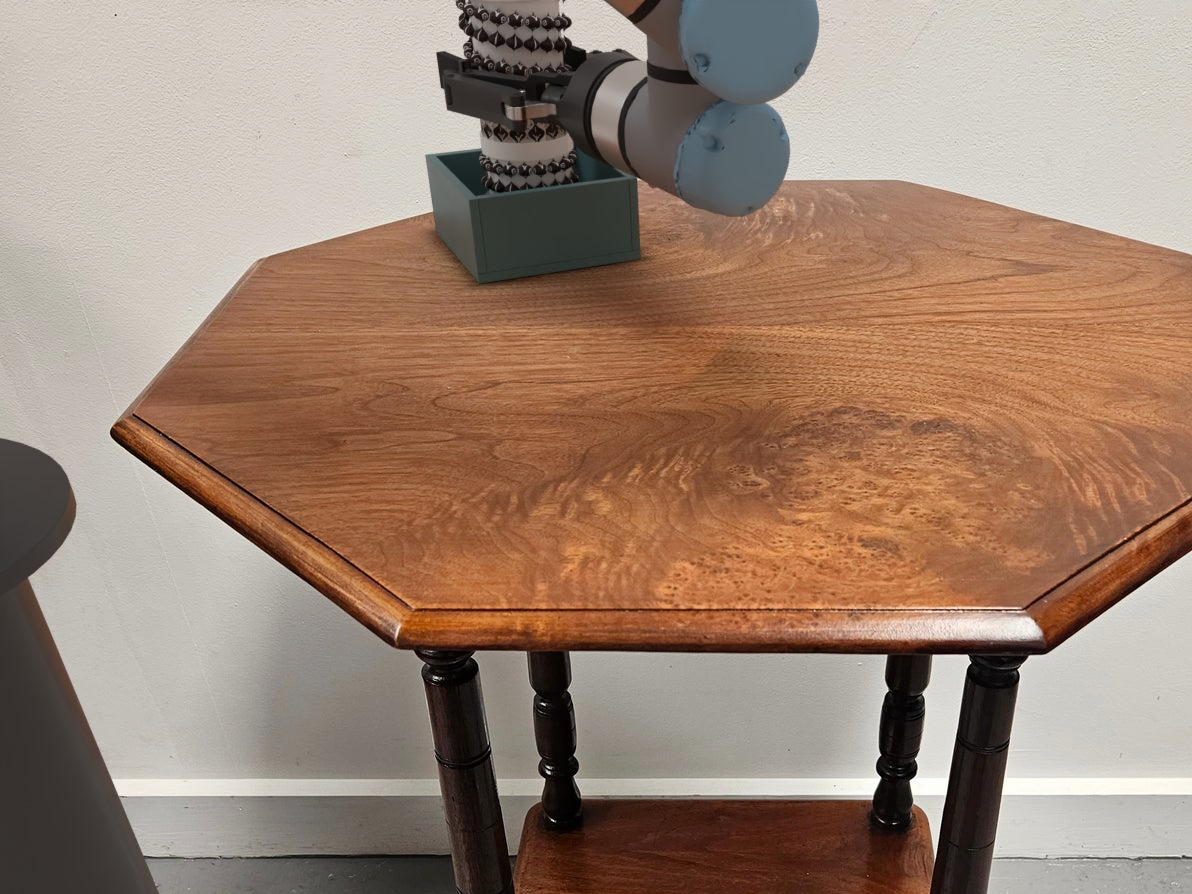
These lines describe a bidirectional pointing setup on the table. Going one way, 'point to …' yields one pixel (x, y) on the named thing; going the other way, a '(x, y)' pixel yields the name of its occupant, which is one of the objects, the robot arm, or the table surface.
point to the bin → (533, 219)
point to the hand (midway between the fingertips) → (495, 62)
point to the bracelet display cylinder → (520, 47)
